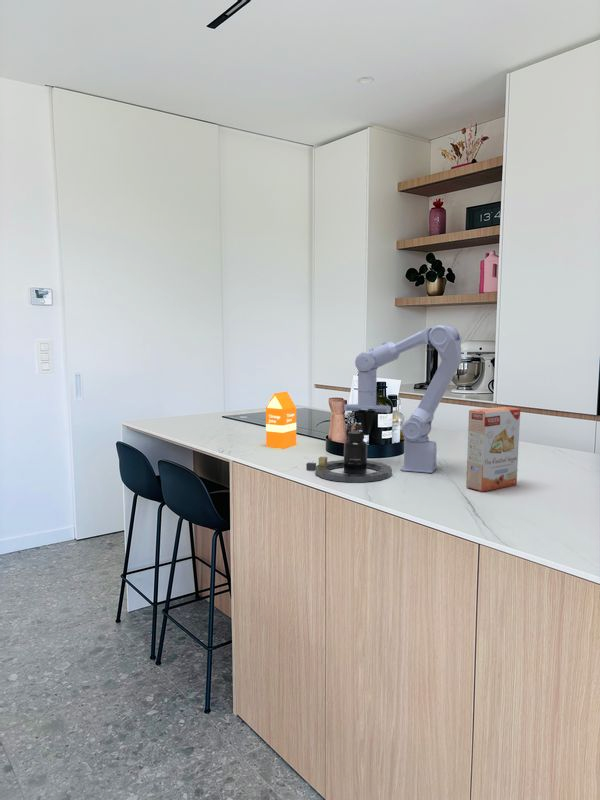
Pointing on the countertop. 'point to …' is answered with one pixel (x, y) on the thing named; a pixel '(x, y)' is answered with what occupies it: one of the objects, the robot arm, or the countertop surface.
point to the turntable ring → (324, 472)
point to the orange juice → (281, 421)
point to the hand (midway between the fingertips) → (366, 434)
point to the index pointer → (311, 466)
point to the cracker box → (492, 448)
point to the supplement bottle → (355, 453)
